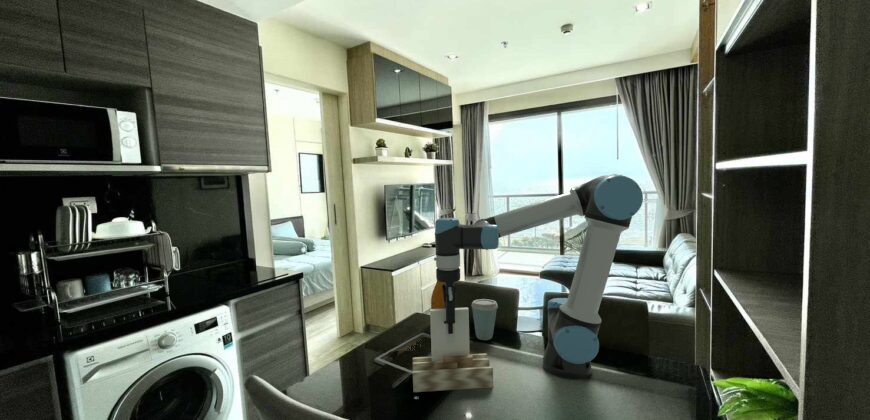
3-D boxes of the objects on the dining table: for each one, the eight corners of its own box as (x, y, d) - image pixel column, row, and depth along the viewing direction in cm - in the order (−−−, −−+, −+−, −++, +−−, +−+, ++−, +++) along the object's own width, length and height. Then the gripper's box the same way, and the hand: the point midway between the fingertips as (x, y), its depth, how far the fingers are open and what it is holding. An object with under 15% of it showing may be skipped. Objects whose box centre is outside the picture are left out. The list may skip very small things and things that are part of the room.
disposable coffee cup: (469, 332, 150) (468, 297, 149) (494, 330, 151) (493, 295, 150) (474, 343, 139) (474, 306, 138) (501, 341, 140) (501, 304, 139)
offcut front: (457, 384, 110) (456, 361, 109) (458, 386, 108) (457, 364, 108) (434, 385, 110) (434, 363, 109) (434, 388, 108) (434, 365, 107)
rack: (487, 374, 117) (486, 353, 116) (493, 390, 108) (492, 367, 107) (413, 378, 116) (412, 357, 115) (413, 395, 106) (412, 372, 106)
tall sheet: (469, 374, 115) (467, 307, 114) (470, 376, 114) (468, 309, 112) (432, 376, 115) (430, 309, 113) (432, 379, 113) (430, 311, 111)
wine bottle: (446, 330, 152) (444, 261, 150) (427, 326, 158) (425, 259, 155) (457, 322, 161) (456, 256, 159) (439, 318, 166) (437, 254, 164)
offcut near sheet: (472, 379, 112) (471, 354, 112) (473, 382, 111) (472, 357, 110) (443, 381, 112) (443, 356, 111) (444, 384, 110) (443, 358, 110)
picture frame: (373, 358, 127) (426, 330, 151) (374, 363, 128) (426, 333, 151) (414, 374, 116) (464, 340, 140) (415, 379, 116) (464, 345, 140)
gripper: (434, 263, 119) (436, 332, 120) (437, 274, 104) (440, 352, 106) (457, 262, 119) (458, 330, 121) (463, 272, 105) (465, 351, 106)
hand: (450, 340), depth 113 cm, fingers closed on tall sheet, 2 cm apart
